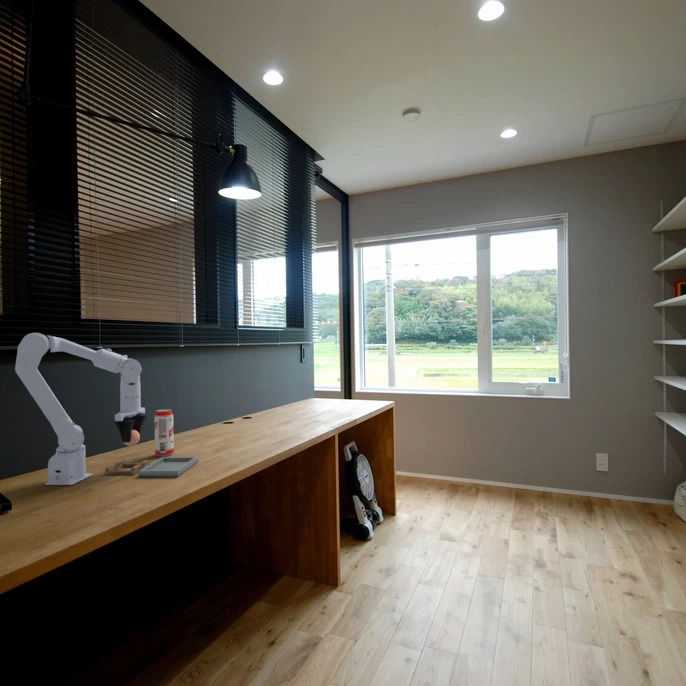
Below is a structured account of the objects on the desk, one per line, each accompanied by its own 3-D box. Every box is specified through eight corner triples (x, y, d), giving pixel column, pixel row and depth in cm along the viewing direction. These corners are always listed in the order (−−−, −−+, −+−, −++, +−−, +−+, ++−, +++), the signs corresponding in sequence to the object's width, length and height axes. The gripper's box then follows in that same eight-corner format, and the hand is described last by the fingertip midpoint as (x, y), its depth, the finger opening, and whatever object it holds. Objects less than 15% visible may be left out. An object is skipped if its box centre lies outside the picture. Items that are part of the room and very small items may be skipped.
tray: (178, 477, 126) (178, 470, 126) (138, 477, 126) (138, 471, 126) (198, 462, 142) (198, 456, 142) (162, 462, 142) (162, 456, 142)
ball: (135, 447, 131) (134, 431, 131) (119, 447, 131) (118, 431, 131) (143, 443, 136) (142, 428, 136) (127, 443, 136) (127, 428, 136)
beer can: (153, 457, 148) (153, 411, 148) (156, 453, 154) (155, 409, 154) (172, 456, 150) (172, 411, 150) (174, 452, 156) (174, 408, 156)
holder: (134, 474, 129) (134, 468, 129) (105, 474, 129) (105, 468, 129) (148, 466, 138) (148, 460, 138) (121, 466, 138) (121, 460, 138)
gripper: (131, 399, 126) (131, 445, 126) (153, 394, 141) (154, 435, 141) (107, 400, 126) (108, 445, 126) (132, 394, 141) (133, 435, 141)
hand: (131, 440), depth 133 cm, fingers closed on ball, 5 cm apart
